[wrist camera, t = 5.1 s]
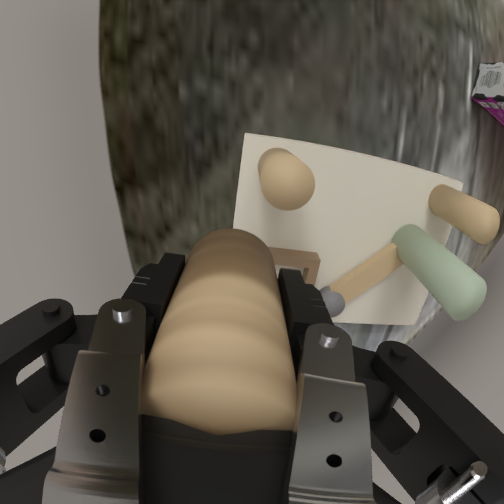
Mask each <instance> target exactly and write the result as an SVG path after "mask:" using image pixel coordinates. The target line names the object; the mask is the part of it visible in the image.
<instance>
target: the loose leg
mask: <svg viewBox="0 0 504 504" xmlns="http://www.w3.org/2000/svg"><path fill="white" fill-rule="evenodd" d="M296 392H297V387H296V377H295V371H294V366H293V360H292V355H291V349H290V344H289V338H288V333H287V327H286V322H285V316H284V311H283V306H282V300H281V295H280V290H279V285H278V279H277V274H276V269H275V264H274V259H273V256H272V254H271V252H270V250H269V248H268V247H267V245H266V244H265V243H264V242H263V241H262V240H261V239H259V238H258V237H257V236H255V235H254V234H252V233H250V232H247V231H244V230H241V229H234V228H226V229H219V230H216V231H213V232H210V233H208V234H207V235H205V236H203V237H202V238H201V239H200V240H199V241H198V242H197V243H196V244H195V245H194V247H193V248H192V250H191V252H190V254H189V256H188V259H187V261H186V264H185V266H184V268H183V271H182V273H181V276H180V278H179V280H178V283H177V285H176V288H175V290H174V293H173V295H172V297H171V300H170V302H169V305H168V307H167V310H166V312H165V315H164V318H163V320H162V323H161V325H160V328H159V330H158V333H157V335H156V338H155V341H154V343H153V346H152V349H151V351H150V354H149V357H148V359H147V362H146V365H145V370H144V379H143V390H142V401H143V402H142V414H145V415H150V416H155V417H160V418H166V419H171V420H174V421H177V422H179V423H182V424H185V425H187V426H190V427H193V428H196V429H199V430H201V431H204V432H207V433H210V434H214V435H225V434H234V433H242V432H249V431H256V430H286V431H293V426H294V419H293V418H294V416H295V410H296Z"/></svg>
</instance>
